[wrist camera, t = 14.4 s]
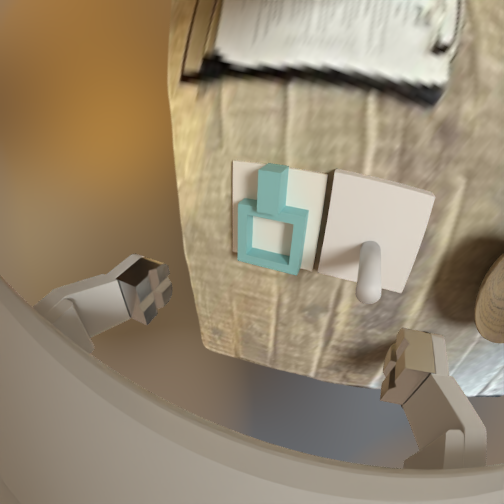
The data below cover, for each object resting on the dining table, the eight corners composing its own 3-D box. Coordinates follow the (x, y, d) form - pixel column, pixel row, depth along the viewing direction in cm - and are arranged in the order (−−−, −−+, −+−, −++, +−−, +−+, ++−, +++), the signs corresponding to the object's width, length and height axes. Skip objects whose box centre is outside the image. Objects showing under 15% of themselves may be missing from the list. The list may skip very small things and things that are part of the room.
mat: (234, 159, 40) (232, 160, 40) (328, 174, 36) (327, 175, 35) (234, 249, 49) (232, 251, 48) (312, 269, 45) (312, 271, 44)
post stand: (336, 168, 35) (323, 196, 26) (431, 192, 31) (455, 230, 21) (319, 265, 44) (302, 316, 34) (400, 285, 40) (403, 340, 30)
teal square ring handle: (245, 160, 39) (233, 166, 36) (313, 170, 36) (308, 177, 33) (243, 252, 48) (233, 265, 44) (300, 266, 45) (294, 281, 41)
